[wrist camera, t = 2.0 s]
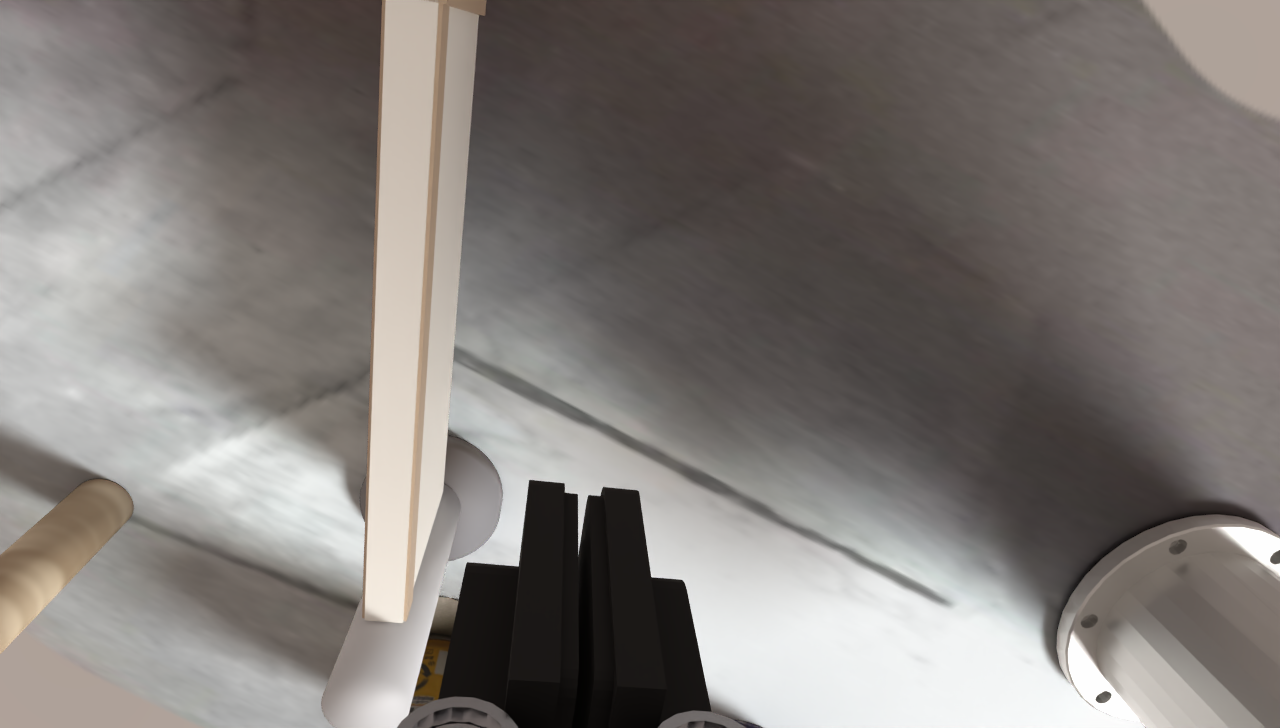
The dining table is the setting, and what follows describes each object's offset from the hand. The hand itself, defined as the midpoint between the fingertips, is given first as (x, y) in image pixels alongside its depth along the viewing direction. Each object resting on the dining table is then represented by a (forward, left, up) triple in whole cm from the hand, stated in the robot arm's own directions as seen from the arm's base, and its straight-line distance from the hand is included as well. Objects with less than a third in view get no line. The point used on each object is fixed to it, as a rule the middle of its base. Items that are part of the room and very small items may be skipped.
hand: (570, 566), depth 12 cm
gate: (+5, +2, -19) cm, 20 cm away
